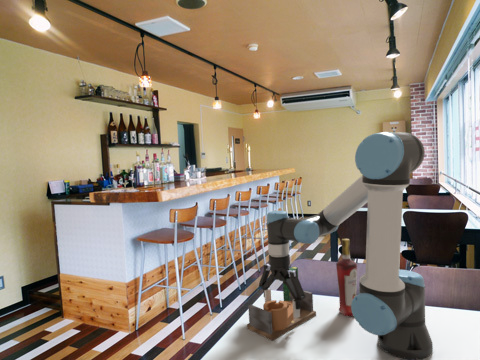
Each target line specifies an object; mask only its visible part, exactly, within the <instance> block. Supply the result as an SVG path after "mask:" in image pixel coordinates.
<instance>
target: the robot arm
mask: <svg viewBox="0 0 480 360" xmlns="http://www.w3.org/2000/svg"><path fill="white" fill-rule="evenodd" d="M425 155H426V154H425V147H424V144H423V142H422V140H421V139H419V138H418V136H416V135H414V134H412V133H410V132H404V131H401V132H393V131H383V132H382V131H381V132H377V133H372V134H370V135H368V136H366V137H365V138H364V139H363V140H361V142H359V145H357V148H356V151H355V155H354V163H355V166H356V168H357V170H359V173H360V174H361V175H360V177H358V178H357V179H356V180H355V181H354V182H353V183H351V184H350V185H349V186H348V187H347V188H346V189H345V190H344V191H343V192H341V193H340V194H339V195H338V196H337V197H335V198H334V199H333V200H332V201H331V202H330V203H329V204H327V205H326V206H325V207H324V208H323V209H322V210H321V211H320V212H319V213H317V214H315V215H311V216H308V217H302V218H290V217H289V215H288V212H287V211H285V210H272V211H269V212H268V213H267V214H266V230H267V231H266V234H267V245H268V247H267V250H268V263H266V264H264V265H263V270H262V274H261V277H260V280H259V284H258V287H259V288H262V290H263V297H264V298H263V299H264V303H266V302H268V301H272V289H271V285H272V284H273V283H274V281H275V280H277V281H280V282H282V284H283V283H284V284H286V286H287V288H288V289H289V291H290V293H291V294H292V296H293V298H294V300H293V319H296V318H298V317H300V309H301V300H302V299H304V298H306V296H305V294H304V291H303V290H304V289H303V287H302V285H301V282H300V279H299V275H298V276H297V271H296V270H294V271H290V269H289V268H290V265H291V256H290V242H296V243H300V244H303V245H304V244H310V245H312V244H314V243H316V241H318V239H319V238H320V237H323V236H325V235H330V234H332V233H333V232H336V231H337V230H338V228H339V226H340V224H342V223H344V221H346V220H347V219H349V217H351V216H352V215H353V214H355V213H356V212H357V211H359V210H361V208H362V207H363V206H365V205H366V204H367V210H366V211H367V216H366V218H367V219H366V241H365V242H366V245H365V249H366V250H365V271H364V274H363V275H360V277H359V283H358V284H359V286H358V288H359V289H358V293H356V296H355V297H354V298H353V300H352V303H351V310H352V314H353V316H352V317H354V320H355V321H356V322H357V323H358V325H359V326H360V327H361V328H362V329H363V331H366V332H367V333H369V334H372V335H374V336H377V344H378V346H379V347H380V349H382V350H383V351H384V352H385V353H387V354H389V355H391V356H394V357H397V358H400V359H405V360H422V359H426V358H428V357H430V356H431V355H432V354H433V351H434V349H433V348H434V347H433V346H434V345H433V340H432V337H431V335H430V333H429V330H428V326H427V324H426V292H425V291H426V289H425V288H426V286H425V279H424V277H423V276H422V274H420V273H418V272H415V271H411V270H407V269H402V268H401V269H400V265H401V264H400V262H401V261H400V260H401V245H402V244H401V241H402V240H401V239H402V220H403V219H402V218H403V216H402V215H403V214H402V213H403V199H404V198H403V197H404V196H403V195H404V193H403V192H404V190H405V189H407V188H408V187H409V186H410V182H411V180H410V179H411V174H412V173H414V171H416V170H417V169H418V168H419V167H421V165H422V164H423V161H424V160H425V159H424V158H425ZM287 278H288V279H287ZM286 279H287V280H286ZM296 295H297V296H296Z"/></svg>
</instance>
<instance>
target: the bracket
mask: <svg viewBox="0 0 480 360" xmlns="http://www.w3.org/2000/svg"><path fill="white" fill-rule="evenodd" d="M262 309H263V310H266V311H268V312H271V313H272V330H274V331H278V330H283V329H285V328H287V327H288V326H289V324H290V323H291V322H292V321H293V302H292V301H284V300H279V301H278V302H277V300H275V299H274V300H271V301H268V302H266V303H265V302H264V303H263V308H262Z"/></svg>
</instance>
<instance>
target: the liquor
mask: <svg viewBox="0 0 480 360" xmlns="http://www.w3.org/2000/svg"><path fill="white" fill-rule="evenodd" d="M341 247H342V253H341V254H342V257H341V260H338V261H337V262H336V263H335V266H336V277H337V286H338V287H337V288H338V298H339V302H338V303H339V308H338V311H339V313H340V314H342V315H343V316H345V317H354V316H353V314H352V310H351V303H352V300H353V298H354V297H355V296H356V295H357V285H358V282H357V281H358V279H357V278H358V263H356V262H355V260H354V261H353V260H351V252H350V239H349V238H342V239H341Z"/></svg>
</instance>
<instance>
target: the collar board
mask: <svg viewBox="0 0 480 360" xmlns="http://www.w3.org/2000/svg"><path fill="white" fill-rule="evenodd" d="M303 291H304V294H305V296H306V298H304V299H302V300H301V309H300V317H298V318H296V319H293V321H292V322H291V323H290V324H289V326H288V327H287V328H285V329H283V330H278V331H274V330H272V313H271V312H268V311H266V310H264V309H263V308H261V307H258V306H256V305H253V304H249V305H248V307H247V308H248V323H247V324H246V328H247V329H248V330H249V331H251V332H253V333H256V335H257V334H258V335H260V336H262V337H264V338H266V339H268V340H270V341H274V340H275V339H277V338H279V337H281V336H282V335H284V334H286V333H288V332H290V331H291V330H293V329H294V328H297V327H298V326H300V325H302V324H304V323H305V322H307V321H310V320H311V319H312V318H315V317H317V311H315V310H314V296H313V292H312V291H308V290H304V289H303ZM296 296H297V295H296ZM293 300H294V298H293V296H292V294H291V293H290V301H292V302H293Z"/></svg>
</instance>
